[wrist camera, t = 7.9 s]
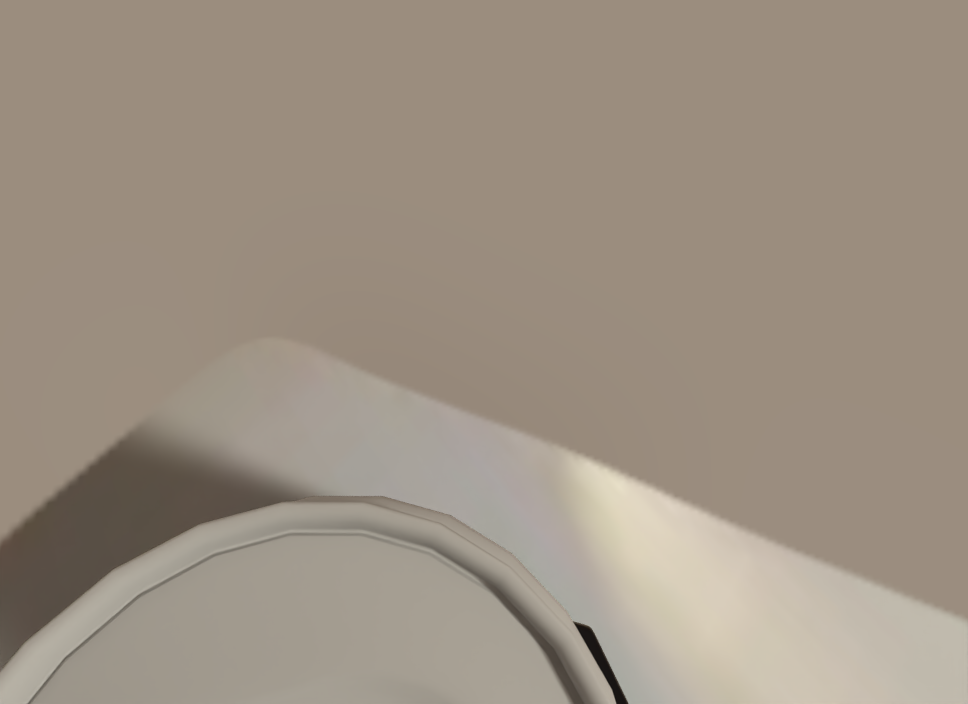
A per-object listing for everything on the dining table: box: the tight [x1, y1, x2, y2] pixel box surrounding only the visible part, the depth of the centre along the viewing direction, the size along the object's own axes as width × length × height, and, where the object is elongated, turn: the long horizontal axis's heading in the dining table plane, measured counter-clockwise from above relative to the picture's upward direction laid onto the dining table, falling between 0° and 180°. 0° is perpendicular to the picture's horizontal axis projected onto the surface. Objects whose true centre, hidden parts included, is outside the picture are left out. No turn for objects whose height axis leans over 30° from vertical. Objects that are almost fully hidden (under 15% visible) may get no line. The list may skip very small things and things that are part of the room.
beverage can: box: [0, 496, 616, 704], centre depth 8 cm, size 5×5×12 cm
